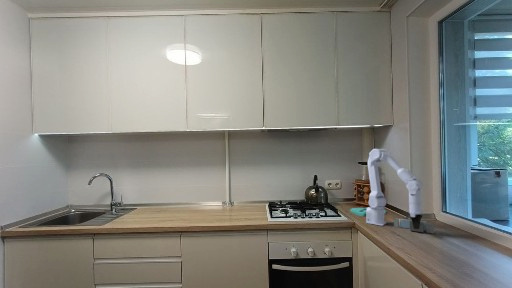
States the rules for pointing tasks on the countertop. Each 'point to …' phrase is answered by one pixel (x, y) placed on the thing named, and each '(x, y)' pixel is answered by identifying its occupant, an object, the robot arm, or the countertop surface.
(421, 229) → the block
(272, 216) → the countertop surface
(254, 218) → the countertop surface
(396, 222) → the grey long flat piece
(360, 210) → the teal pixel art cutout
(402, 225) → the pale blue stick
